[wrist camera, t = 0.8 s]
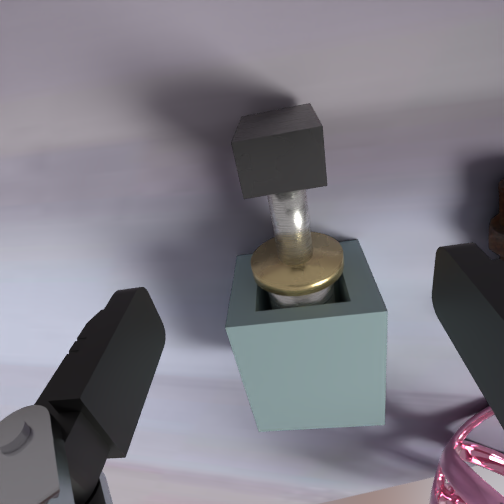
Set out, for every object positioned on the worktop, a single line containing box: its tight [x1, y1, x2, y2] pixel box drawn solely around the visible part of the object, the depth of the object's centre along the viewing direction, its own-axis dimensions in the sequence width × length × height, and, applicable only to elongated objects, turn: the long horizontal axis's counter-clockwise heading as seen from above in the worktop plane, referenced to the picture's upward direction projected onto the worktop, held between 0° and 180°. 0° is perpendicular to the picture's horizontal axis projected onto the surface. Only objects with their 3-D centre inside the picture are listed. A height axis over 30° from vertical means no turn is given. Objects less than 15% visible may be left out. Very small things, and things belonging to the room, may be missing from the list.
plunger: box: [231, 103, 344, 310], centre depth 23 cm, size 6×18×6 cm, turn 11°
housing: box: [225, 240, 388, 432], centre depth 27 cm, size 10×12×8 cm
